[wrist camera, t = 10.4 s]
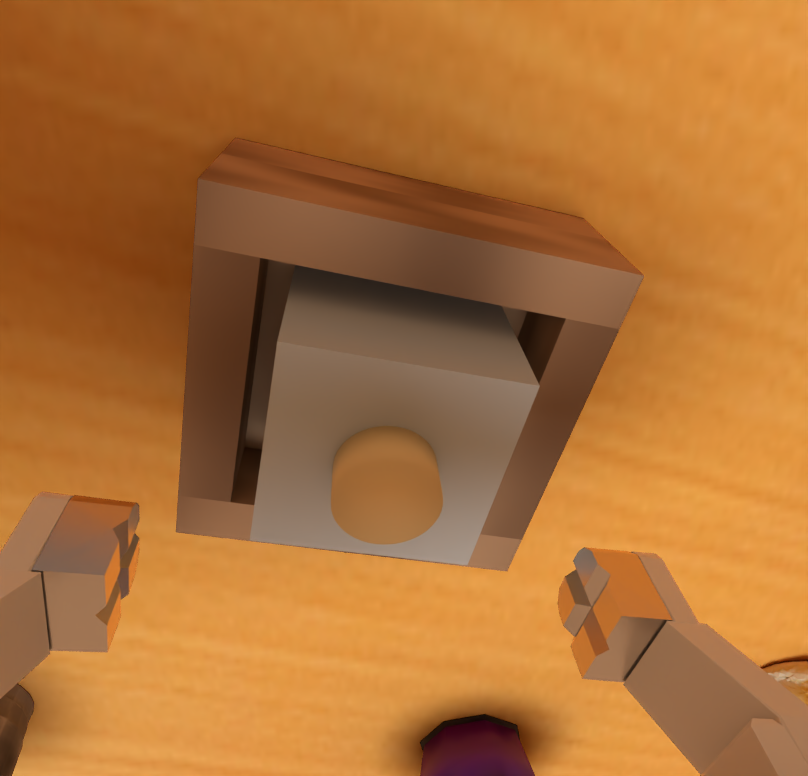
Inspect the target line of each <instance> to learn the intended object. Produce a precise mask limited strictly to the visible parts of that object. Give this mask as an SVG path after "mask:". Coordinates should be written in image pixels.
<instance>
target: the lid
mask: <svg viewBox="0 0 808 776" xmlns="http://www.w3.org/2000/svg"><path fill="white" fill-rule="evenodd" d="M539 387H540V385H539V383H538V381H537V379H536V377H535V375H534V373H533V371H532V369H531V367H530V365H529V362H528V360H527V358H526V356H525V354H524V352H523V350H522V348H521V346H520V344H519V342H518V340H517V337H516V335H515V333H514V331H513V329H512V327H511V325H510V323H509V321H508V319H507V317H506V314H505V312H504V310H503V308H502V306H500V305H495V304H490V303H485V302H480V301H475V300H470V299H465V298H460V297H455V296H450V295H445V294H440V293H435V292H430V291H425V290H420V289H415V288H410V287H405V286H400V285H395V284H390V283H385V282H380V281H375V280H369V279H364V278H359V277H354V276H349V275H344V274H339V273H334V272H329V271H324V270H319V269H314V268H309V267H304V266H299V265H295V269H294V273H293V277H292V282H291V286H290V290H289V294H288V298H287V303H286V307H285V311H284V315H283V319H282V324H281V328H280V332H279V336H278V340H277V347H276V354H275V361H274V368H273V376H272V383H271V390H270V397H269V404H268V412H267V419H266V426H265V433H264V440H263V447H262V455H261V462H260V469H259V476H258V483H257V491H256V498H255V505H254V512H253V519H252V527H251V534H250V541H258V542H266V543H275V544H284V545H293V546H302V547H310V548H319V549H328V550H337V551H346V552H354V553H363V554H372V555H381V556H390V557H399V558H407V559H416V560H425V561H434V562H443V563H451V564H460V565H468V563H469V560H470V558H471V555H472V553H473V550H474V548H475V545H476V543H477V540H478V538H479V535H480V533H481V531H482V528H483V526H484V523H485V521H486V518H487V516H488V513H489V511H490V508H491V506H492V503H493V501H494V498H495V496H496V493H497V491H498V488H499V486H500V484H501V481H502V479H503V476H504V474H505V471H506V469H507V466H508V464H509V461H510V459H511V456H512V454H513V451H514V449H515V446H516V444H517V441H518V439H519V437H520V434H521V432H522V429H523V427H524V424H525V422H526V419H527V417H528V414H529V412H530V409H531V407H532V404H533V402H534V399H535V397H536V394H537V392H538V390H539Z"/></svg>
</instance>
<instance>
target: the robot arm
mask: <svg viewBox="0 0 808 776" xmlns="http://www.w3.org/2000/svg"><path fill="white" fill-rule="evenodd" d="M138 522H139V505H138V504H137V503H134V502H126V501H118V500H110V499H102V498H94V497H86V496H78V495H74V496H72V495H64V494H56V493H48V492H41V493H40V494H38V495H37V496H36V497H35V498H33V500H32V502H31V503H30V505H29V507H28V508H27V510H26V511H25V513H24V515H23V516H22V518H21V520H20V521H19V523H18V524H17V526H16V528H15V529H14V531H13V532H12V534H11V536H10V537H9V539H8V541H7V542H6V544H5V545H4V547H3V549H2V550H1V552H0V699H1V698H2V697H3V696H4V695H5V694H6V693H7V692H8V691H9V690H11V689H12V688H13V687H14V686H15V685H16V684H17V683H18V682H19V681H21V680H22V679H23V678H24V677H25V676H26V675H27V674H28V673H29V672H31V671H32V670H33V669H34V668H35V667H36V666H37V665H38V664H39V663H40V662H42V661H43V660H44V659H45V658H46V657H47V656H48V655H49V654H50V651H83V652H108V650H109V647H110V645H111V642H112V639H113V636H114V634H115V631H116V628H117V625H118V623H119V620H120V617H121V599H123V598H124V597H125V596H127V595H128V594H129V592H130V589H131V586H132V583H133V580H134V576H135V571H136V567H137V563H138V555H139V537H138V536H137V535H136V534H135V530H136V527H137V525H138ZM573 562H574V564H575V567H576V570H575V571H573V572H571V573H570V574H568V575H567V576H565V578H564V580H563V582H562V584H561V586H560V588H559V596H558V608H559V614H560V617H561V620H562V623H563V626H564V627H565V628H566V629H567V630H568V631H569V632H570V633H571V634H572V635H573V636H574V639H573V642H572V644H571V649H572V652H573V654H574V657H575V660H576V663H577V665H578V668H579V671H580V674H581V676H582V679H592V680H603V681H615V682H625V683H624V684H623V685H624V686H625V687H626V688H627V689H628V691H629V692H630V693H631V694H632V695H633V696H634V698H635V699H636V700H637V701H638V702H639V703H640V705H641V706H642V707H643V708H644V709H645V710H646V712H647V713H648V714H649V715H650V716H651V717H652V719H653V720H654V721H655V722H656V723H657V724H658V725H659V727H660V728H661V729H662V730H663V731H664V732H665V734H666V735H667V736H668V737H669V738H670V739H671V741H672V742H673V743H674V744H675V745H676V746H677V748H678V749H679V750H680V751H681V752H682V753H683V755H684V756H685V757H686V758H687V759H688V760H689V762H690V763H691V764H692V765H693V766H694V767H695V769H696V770H697V771H698V772H699V773H700V774H701V775H700V776H808V706H807V705H806V704H805V703H804V702H802V701H801V700H800V699H799V698H797V697H796V696H795V695H794V694H792V693H791V692H790V691H789V690H787V689H786V688H785V687H784V686H783V685H781V684H780V683H779V682H778V681H776V680H775V679H774V678H773V677H771V676H770V675H769V674H768V673H766V672H765V671H764V670H763V669H761V668H760V667H759V666H758V665H756V664H755V663H754V662H753V661H751V660H750V659H749V658H748V657H747V656H745V655H744V654H743V653H742V652H740V651H739V650H738V649H737V648H735V647H734V646H733V645H732V644H730V643H729V642H728V641H727V640H725V639H724V638H723V637H722V636H720V635H719V634H718V633H717V632H715V631H714V630H713V629H712V628H711V627H709V626H708V625H707V624H701V623H699V622H698V621H697V619H696V617H695V615H694V614H693V612H692V610H691V608H690V607H689V605H688V603H687V601H686V600H685V598H684V596H683V595H682V593H681V591H680V589H679V588H678V586H677V584H676V582H675V581H674V579H673V577H672V576H671V574H670V572H669V570H668V569H667V567H666V565H665V563H664V562H663V560H662V559H661V558H660V557H659V556H658V555H657V554H652V553H641V552H628V551H618V550H607V549H596V548H585V547H584V548H583V549H581V550H580V551H579V552H578V553H577V555H576V557H575V559H574V560H573Z"/></svg>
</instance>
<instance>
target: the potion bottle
mask: <svg viewBox="0 0 808 776" xmlns="http://www.w3.org/2000/svg"><path fill="white" fill-rule="evenodd" d="M420 744H421V747H422V749H423V758H422V766H421V775H420V776H535V774H534V772H533V770H532V768H531V765H530V763H529V761H528V759H527V756H526V754H525V752H524V749H523V747H522V745H521V743H520V738H519V733H518V728H517V725H515V724H512V723H509V722H506V721H503V720H500V719H497V718H494V717H491V716H488V715H485V714H484V715H479V716H473V717H467V718H462V719H456V720H450V721H445V722H443V723H441V724H440V725H439V726H438V727H437V728H436V729H434V730H433V731H432V732H431V733H430V734H429V735H428V736H426V737H425V738H424V739H423V740H422V741H421V742H420Z"/></svg>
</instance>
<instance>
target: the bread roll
mask: <svg viewBox="0 0 808 776" xmlns="http://www.w3.org/2000/svg"><path fill="white" fill-rule="evenodd" d="M763 670H764V671H765V672H766V673H768V674H769V675H770V676H771V677H773V678H774V679H775V680H776V681H778V682H779V683H780V684H781V685H783V686H784V687H785V688H786V689H787V690H789V691H790V692H791V693H792V694H794V695H795V696H796V697H797V698H799V699H800V700H801V701H802V702H804V703H805V704H806V705H807V706H808V661H799V662H784V663H779V664H775V665H772V666H769V667H766V668H763Z"/></svg>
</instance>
